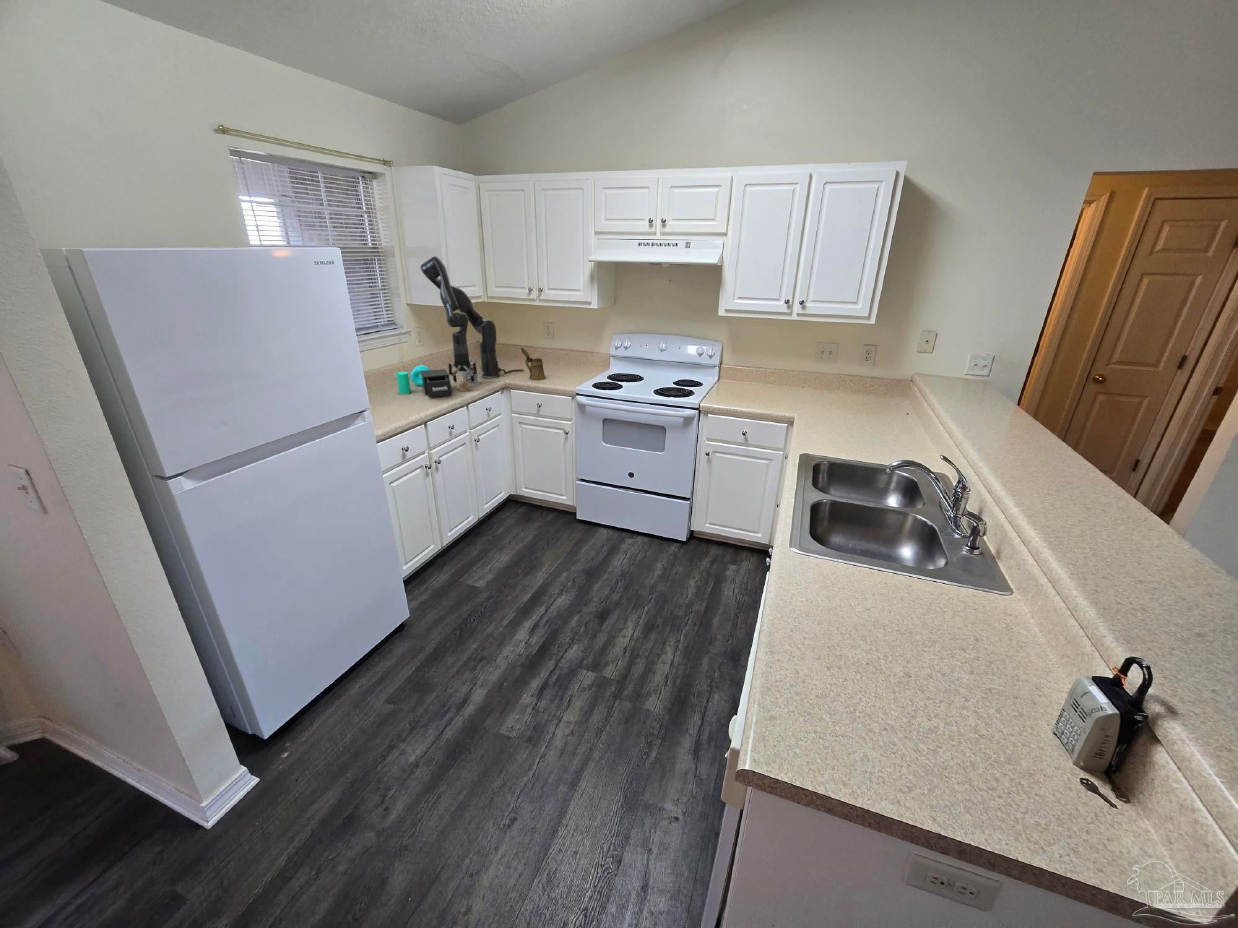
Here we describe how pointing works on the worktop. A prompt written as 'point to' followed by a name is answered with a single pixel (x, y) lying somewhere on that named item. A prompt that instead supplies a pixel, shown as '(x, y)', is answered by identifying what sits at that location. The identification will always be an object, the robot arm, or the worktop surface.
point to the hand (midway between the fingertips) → (464, 382)
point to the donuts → (415, 374)
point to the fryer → (432, 376)
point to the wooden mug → (534, 366)
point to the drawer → (438, 387)
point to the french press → (470, 374)
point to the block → (464, 386)
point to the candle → (403, 382)
